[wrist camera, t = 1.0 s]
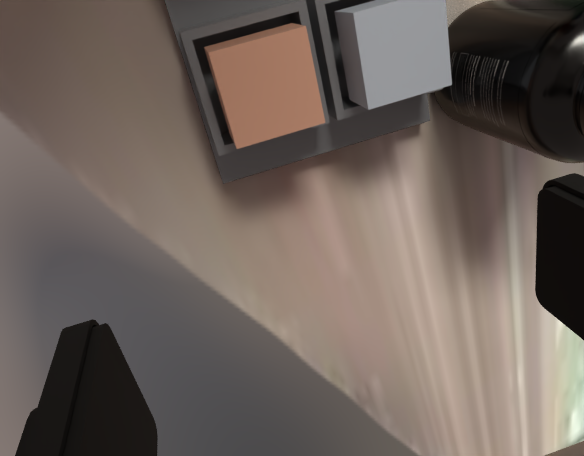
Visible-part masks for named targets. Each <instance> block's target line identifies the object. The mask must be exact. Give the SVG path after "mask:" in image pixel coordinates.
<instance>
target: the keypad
mask: <svg viewBox="0 0 584 456" xmlns="http://www.w3.org/2000/svg"><path fill="white" fill-rule="evenodd" d="M370 1H374V0H165V3H166V6H167V10H168V13H169V16H170V19H171V22H172V25H173V28H174V31H175V35H176V38H177V41H178V44H179V47H180V50H181V53H182V56H183V60H184V63H185V66H186V69H187V72H188V75H189V78H190V81H191V84H192V88H193V91H194V94H195V97H196V100H197V103H198V106H199V109H200V113H201V116H202V119H203V122H204V125H205V128H206V131H207V134H208V138H209V141H210V144H211V147H212V150H213V153H214V156H215V159H216V163H217V166H218V169H219V172H220V175H221V178H222V181H223V184H224V183H227V182H230V181H234V180H237V179H240V178H244V177H247V176H250V175H253V174H257V173H260V172H263V171H267V170H270V169H273V168H276V167H280V166H283V165H286V164H289V163H293V162H296V161H299V160H303V159H306V158H309V157H312V156H316V155H319V154H322V153H326V152H329V151H332V150H335V149H339V148H342V147H345V146H348V145H352V144H355V143H358V142H362V141H365V140H368V139H371V138H375V137H378V136H381V135H385V134H388V133H391V132H394V131H398V130H401V129H404V128H407V127H411V126H414V125H417V124H421V123H424V122H427V121H430V116H429V105H428V95H427V94H428V93H432V92H435V91H438V90H442V89H443V88H440V89H437V90H433V91H430V92H427V93H423V94H420V95H417V96H413V97H410V98H407V99H403V100H400V101H397V102H393V103H390V104H387V105H383V106H380V107H376V108H373V109H370V110H368V109H366V108H364V107H362V106H360V105H359V104H357V103H355V102H353V101H351V100H350V99H349V94H348V88H347V82H346V76H345V71H344V65H343V59H342V53H341V48H340V42H339V36H338V30H337V25H336V19H335V13H334V11H338V10H341V9H345V8H349V7H352V6H356V5H360V4H363V3H367V2H370ZM290 23H294V24H299V25H304V26H306V29H307V34H308V39H309V43H310V48H311V53H312V58H313V63H314V68H315V73H316V78H317V83H318V88H319V93H320V98H321V103H322V108H323V113H324V118H325V123H323V124H319V125H316V126H313V127H309V128H306V129H303V130H299V131H296V132H293V133H289V134H286V135H283V136H279V137H276V138H273V139H269V140H266V141H262V142H259V143H256V144H252V145H249V146H246V147H242V148H239V149H237V148H236V146H235V144H234V142H233V140H232V138H231V136H230V133H229V130H228V126H227V123H226V120H225V116H224V113H223V110H222V106H221V103H220V99H219V96H218V93H217V89H216V86H215V83H214V79H213V76H212V73H211V69H210V66H209V63H208V59H207V56H206V53H205V49H204V47H206V46H210V45H213V44H217V43H221V42H224V41H228V40H232V39H235V38H239V37H243V36H246V35H250V34H254V33H257V32H261V31H265V30H268V29H272V28H276V27H279V26H283V25H287V24H290Z"/></svg>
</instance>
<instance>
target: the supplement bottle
mask: <svg viewBox="0 0 584 456" xmlns="http://www.w3.org/2000/svg"><path fill="white" fill-rule="evenodd" d="M448 38H449V51H450V64H451V78H452V85H450V86H447V87H443V89H442V90H438V91H435V92H434V94H435V97H436V100H437V102H438V104H439V105H440V107H441V108H442V109H443V111H444V112H445V113H446V114H447V115H448V116H449V117H451V118H452V119H453V120H455V121H457V122H459V123H461V124H463V125H465V126H468V127H470V128H472V129H475V130H478V131H480V132H483V133H485V134H488V135H490V136H493V137H495V138H498V139H501V140H503V141H506V142H508V143H511V144H513V145H516V146H518V147H521V148H523V149H526V150H529V151H531V152H534V153H536V154H539V155H541V156H544V157H547V158H549V159H553V160H556V161H560V162H565V163H583V162H584V0H491V1H486V2H482V3H480V4H477V5H475V6H473V7H471V8H469V9H468V10H466V11H465V12H463V13H462V14H461V15H459V16H458V17H457V18H456V19H455V20H454V21H453V22H452V23H451V25H450V26H449V27H448Z"/></svg>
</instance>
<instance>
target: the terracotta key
mask: <svg viewBox="0 0 584 456" xmlns="http://www.w3.org/2000/svg"><path fill="white" fill-rule="evenodd" d="M204 49H205V53H206V56H207V59H208V63H209V66H210V69H211V73H212V76H213V79H214V83H215V86H216V89H217V93H218V96H219V99H220V103H221V106H222V110H223V113H224V116H225V120H226V123H227V126H228V130H229V133H230V136H231V138H232V140H233V142H234V144H235V146H236V148H237V149H239V148H242V147H246V146H249V145H252V144H256V143H259V142H262V141H266V140H269V139H273V138H276V137H279V136H283V135H286V134H289V133H293V132H296V131H299V130H303V129H306V128H309V127H313V126H316V125H319V124H323V123H325V118H324V113H323V108H322V103H321V98H320V93H319V88H318V83H317V78H316V73H315V68H314V63H313V58H312V53H311V48H310V43H309V39H308V34H307V29H306V26H304V25H299V24H294V23H290V24H287V25H283V26H279V27H276V28H272V29H268V30H265V31H261V32H257V33H254V34H250V35H246V36H243V37H239V38H235V39H232V40H228V41H224V42H221V43H217V44H213V45H210V46H206V47H204Z"/></svg>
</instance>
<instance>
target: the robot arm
mask: <svg viewBox="0 0 584 456" xmlns="http://www.w3.org/2000/svg"><path fill="white" fill-rule="evenodd" d="M535 291H536V296H537V299H538V301H539V303H540V304H541V305H542V306H543V307H544V308H545V309H546V310H547V311H549V312H550V313H551V314H552V315H553V316H555V317H556V318H557V319H558V320H560V321H561V322H562V323H563V324H565V325H566V326H567V327H568V328H569V329H571V330H572V331H573V332H574V333H576V334H577V335H578V336H579V337H581V338H582V339H583V340H584V176H581V175H579V174H575V173H573V174H569V175H566V176H562V177H559V178H556V179H553V180H549V181H547V182H546V183H545V184H544V186H543V189H542V190H541V191H540V192H539V194H538V205H537V245H536V285H535ZM15 456H157V429H156V424H155V421H154V418H153V416H152V414H151V412H150V410H149V408H148V405H147V404H146V401H145V399H144V397H143V395H142V393H141V391H140V389H139V387H138V385H137V382H136V381H135V378H134V376H133V374H132V372H131V370H130V368H129V366H128V364H127V362H126V360H125V358H124V355H123V353H122V351H121V349H120V347H119V345H118V343H117V341H116V339H115V337H114V334H113V333H112V330H111V329H110V327H109V325H108V324H106V323H105V324H102V325H99V324H98V323H97V322H96V320H90V321H86V322H83V323H80V324H77V325H73V326H70V327H66V328H64V329H63V330H62V332H61V335H60V338H59V341H58V344H57V347H56V351H55V354H54V357H53V360H52V363H51V367H50V370H49V373H48V376H47V379H46V382H45V385H44V389H43V392H42V395H41V398H40V401H39V404H38V408H35V409H34V410H33V411H32V412H31V413H30V415H29V417H28V419H27V421H26V424H25V428H24V431H23V433H22V436H21V440H20V443H19V446H18V449H17V452H16V455H15ZM545 456H584V441H582V442H580V443H577V444H574V445H572V446H569V447H566V448H564V449H561V450H558V451H556V452H553V453H550V454H548V455H545Z"/></svg>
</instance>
